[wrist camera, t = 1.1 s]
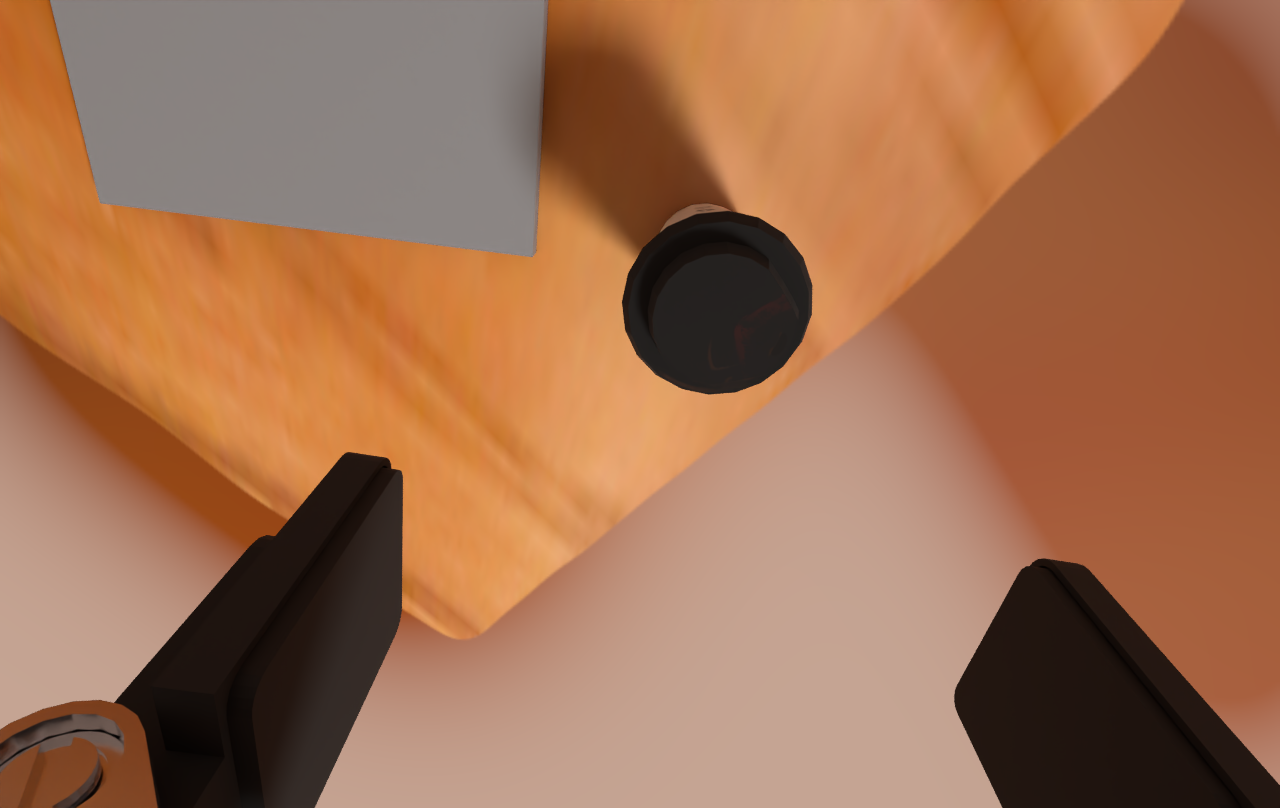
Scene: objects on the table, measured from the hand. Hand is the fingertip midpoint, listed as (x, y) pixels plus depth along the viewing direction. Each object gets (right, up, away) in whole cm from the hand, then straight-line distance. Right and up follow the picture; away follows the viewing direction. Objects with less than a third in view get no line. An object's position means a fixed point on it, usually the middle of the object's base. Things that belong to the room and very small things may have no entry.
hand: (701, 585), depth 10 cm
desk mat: (-15, +18, +18) cm, 30 cm away
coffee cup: (+2, +10, +22) cm, 24 cm away
